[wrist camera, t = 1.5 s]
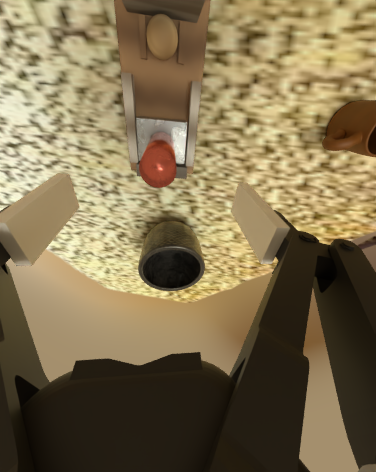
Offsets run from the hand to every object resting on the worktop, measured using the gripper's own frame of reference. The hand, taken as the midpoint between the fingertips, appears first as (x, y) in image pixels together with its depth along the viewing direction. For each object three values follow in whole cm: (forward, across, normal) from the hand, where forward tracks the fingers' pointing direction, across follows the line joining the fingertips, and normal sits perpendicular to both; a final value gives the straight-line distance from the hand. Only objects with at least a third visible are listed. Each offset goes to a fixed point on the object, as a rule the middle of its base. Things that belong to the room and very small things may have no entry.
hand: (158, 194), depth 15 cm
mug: (+24, +33, +4) cm, 41 cm away
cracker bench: (+24, 0, +7) cm, 25 cm away
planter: (+25, +2, -22) cm, 33 cm away
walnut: (+22, 0, +12) cm, 25 cm away
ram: (+22, 0, +1) cm, 22 cm away
